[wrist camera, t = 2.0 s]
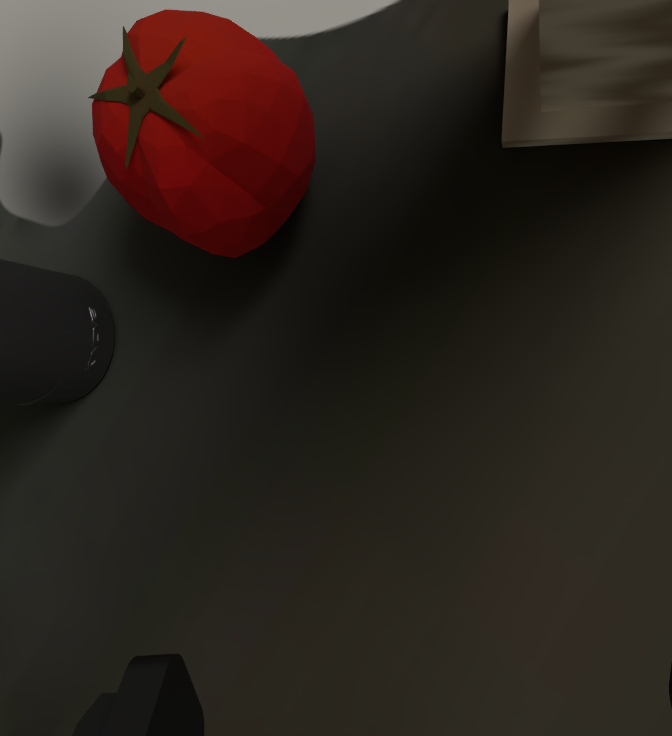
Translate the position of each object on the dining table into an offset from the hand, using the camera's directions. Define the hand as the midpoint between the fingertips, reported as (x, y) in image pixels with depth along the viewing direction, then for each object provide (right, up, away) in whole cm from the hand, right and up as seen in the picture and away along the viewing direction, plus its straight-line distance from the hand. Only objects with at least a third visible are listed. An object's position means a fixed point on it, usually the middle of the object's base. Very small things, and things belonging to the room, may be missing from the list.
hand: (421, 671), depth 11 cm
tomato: (-6, +17, +31) cm, 36 cm away
